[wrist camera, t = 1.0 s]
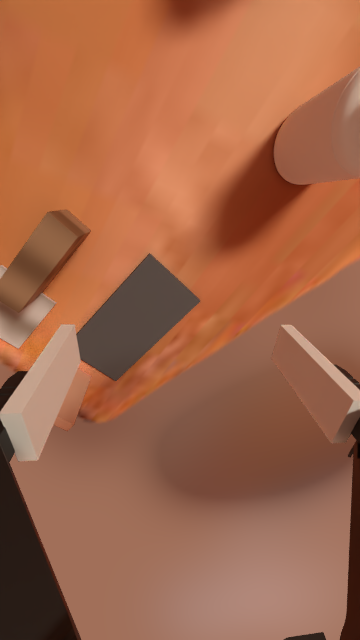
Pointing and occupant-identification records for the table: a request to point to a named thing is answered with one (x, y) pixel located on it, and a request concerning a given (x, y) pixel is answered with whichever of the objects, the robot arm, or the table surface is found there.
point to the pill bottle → (322, 136)
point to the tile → (73, 400)
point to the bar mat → (134, 318)
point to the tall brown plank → (36, 274)
